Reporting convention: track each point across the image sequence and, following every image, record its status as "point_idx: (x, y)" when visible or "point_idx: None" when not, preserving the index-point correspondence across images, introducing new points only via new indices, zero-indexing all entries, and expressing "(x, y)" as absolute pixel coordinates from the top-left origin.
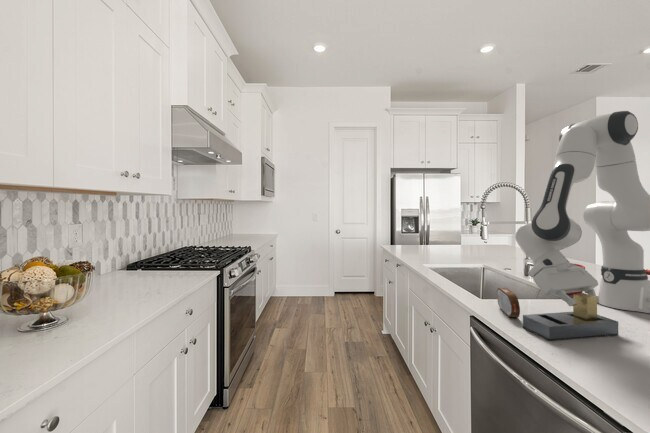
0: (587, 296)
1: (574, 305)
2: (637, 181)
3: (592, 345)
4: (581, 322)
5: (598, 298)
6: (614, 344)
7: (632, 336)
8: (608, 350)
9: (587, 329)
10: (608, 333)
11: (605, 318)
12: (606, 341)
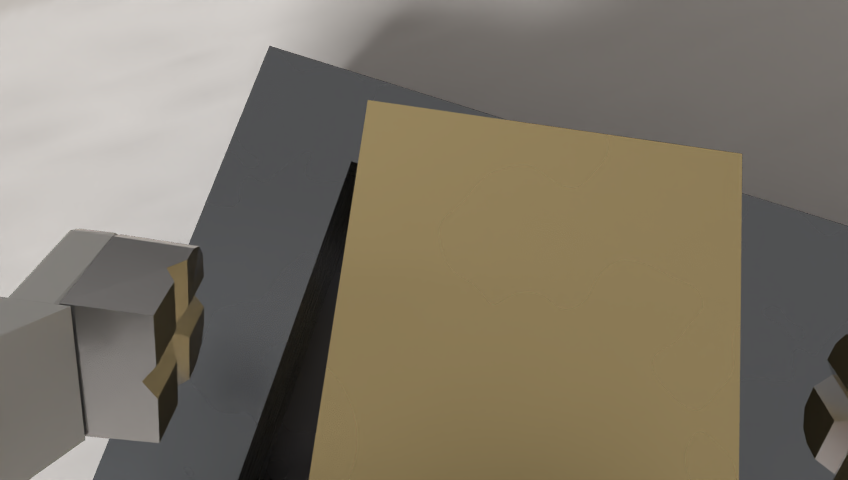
0: (573, 232)
1: (826, 390)
2: None
3: (823, 130)
4: (770, 265)
5: (66, 240)
6: (601, 45)
7: (187, 49)
8: (800, 13)
9: None
10: None
11: (261, 192)
12: (590, 113)
